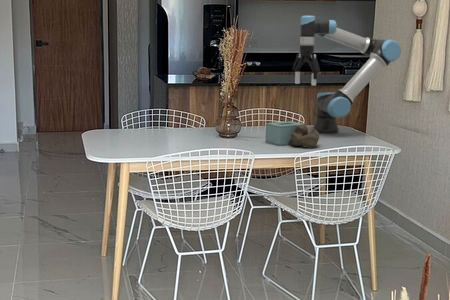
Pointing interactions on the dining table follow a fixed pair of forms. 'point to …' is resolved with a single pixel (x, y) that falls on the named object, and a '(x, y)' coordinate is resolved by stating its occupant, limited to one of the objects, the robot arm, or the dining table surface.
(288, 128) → the coin box
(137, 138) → the dining table surface
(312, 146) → the decorative stone
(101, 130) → the dining table surface
